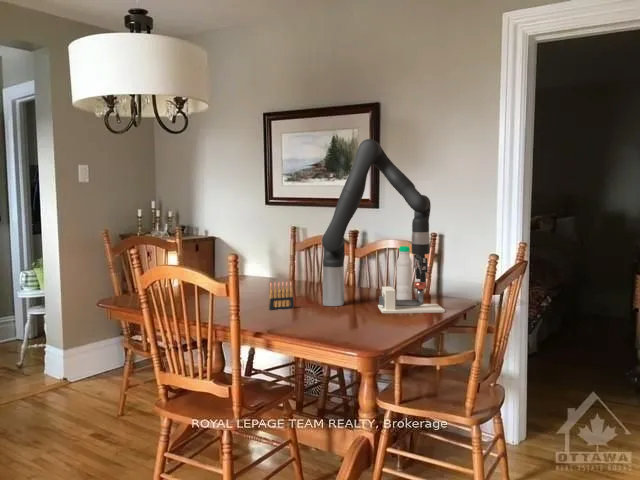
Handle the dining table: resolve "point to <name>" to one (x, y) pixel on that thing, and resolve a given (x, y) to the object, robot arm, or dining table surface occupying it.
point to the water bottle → (404, 274)
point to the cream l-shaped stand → (390, 306)
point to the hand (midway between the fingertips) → (420, 280)
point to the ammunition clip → (281, 297)
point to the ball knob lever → (416, 302)
